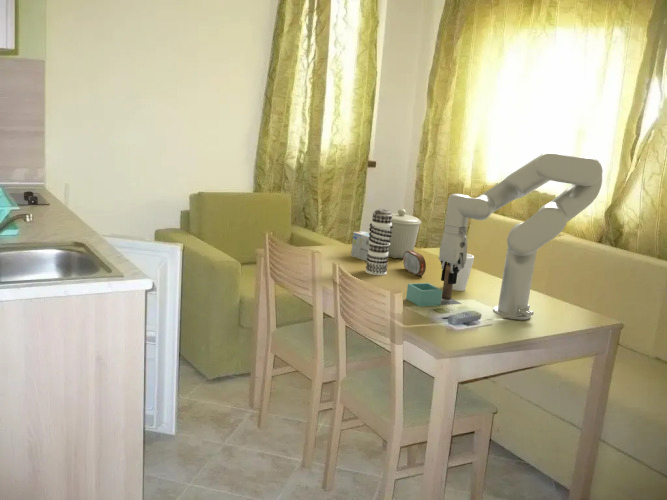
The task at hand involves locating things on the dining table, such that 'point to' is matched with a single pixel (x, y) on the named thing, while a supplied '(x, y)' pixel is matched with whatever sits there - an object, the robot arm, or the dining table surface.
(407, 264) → the tin
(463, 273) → the foam cup
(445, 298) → the dowel
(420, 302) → the teal open box
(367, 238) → the light bulb box
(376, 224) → the decorative candle
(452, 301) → the coaster
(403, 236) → the canister
